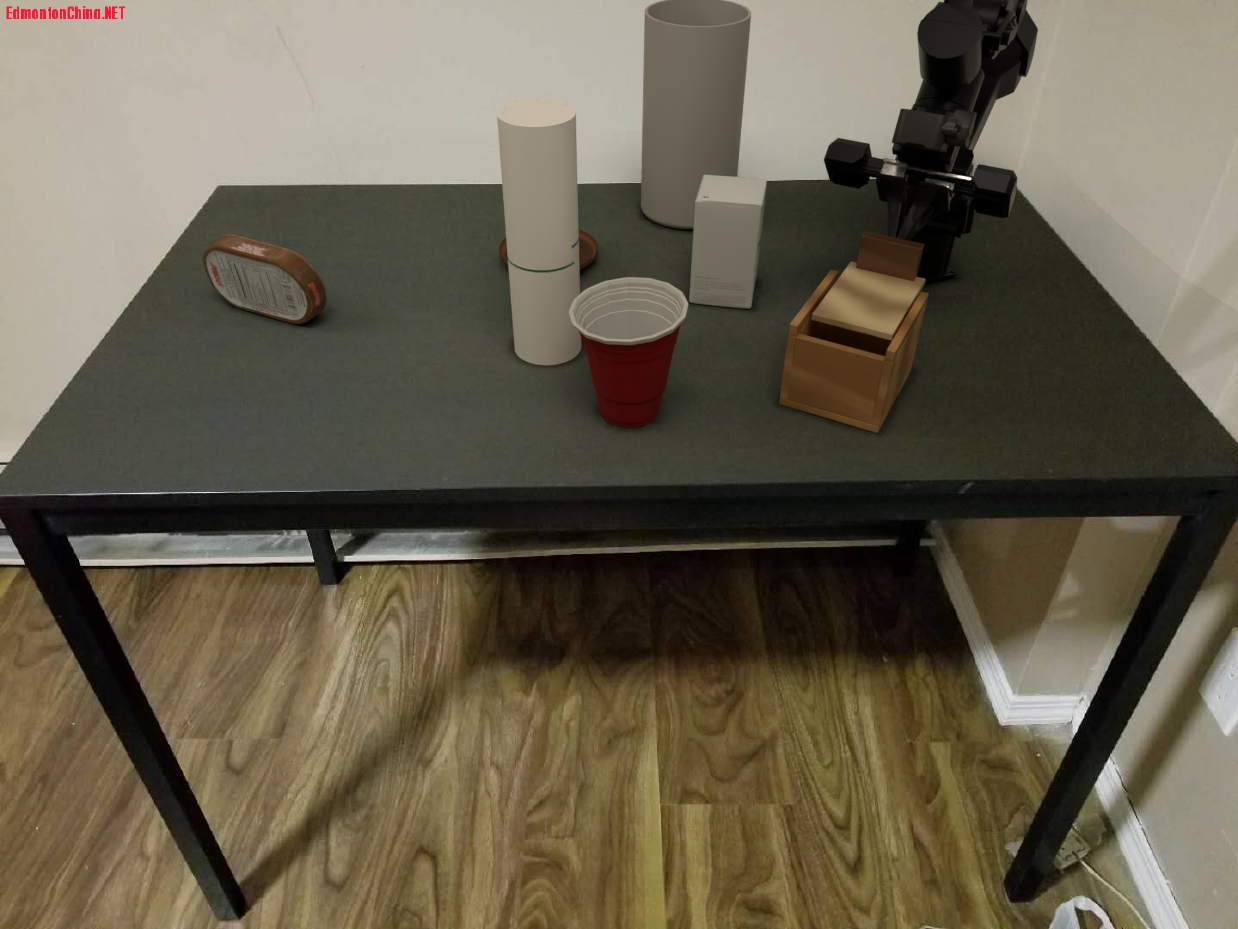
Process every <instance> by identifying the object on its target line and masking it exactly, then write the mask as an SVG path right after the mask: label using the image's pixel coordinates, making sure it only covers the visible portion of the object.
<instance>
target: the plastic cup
mask: <svg viewBox="0 0 1238 929" xmlns="http://www.w3.org/2000/svg"><path fill="white" fill-rule="evenodd" d="M688 307H689V301H687V298H686V296H685V295H684V292H683V291H681V289H679V288H677V287H675V286H674V285H672V284H671V283H670V282H667V281H662V280H658V279H656V278H651V277H636V276H634V277H633V276H625V277H620V278H615V279H609V280H604V281H601V282H599V283H597V284H595V285H592V286H590V287H588V288H585V289H584V290H582V292H580V295H578V296H577V297H576V298H575V299H574V300H573V302H572V305H571V307H570V310H569V315H570V318H571V321H572V324H573V326H574V328H575V329H576V330H578V331H579V333H580V335H581V341H582V342H583V346H584V350H585V354H586V358H587V362H588V368H589V372H590V376H591V381H592V384H593V387H594V391H595V396H596V400H597V405H598V408H599V411H600V413H601V416H602V418H603V419H604V420H605V421H607V423H609V424H612V425H614V426H616V427H618V428H619V427H620V428H627V429H632V428H633V429H634V428H639V427H640V428H641V427H643V426H644V427H645V426H646V425H648V424H650V423H651V424H652V422H653V421H654V420H655V419H656V418H657V417H658V414H659V412H660V409H661V405H662V401H663V396H664V392H665V390H666V386H667V383H668V379H669V378H668V377H669V373H670V370H671V364H672V360H673V356H674V355H673V354H674V351H675V346H676V344H677V340H678V336H679V333H680V329H681V325H682V324H683V323H684V322H685V319H686V316H687V313H688V312H687V311H688Z"/></svg>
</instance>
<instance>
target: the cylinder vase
mask: <svg viewBox="0 0 1238 929" xmlns="http://www.w3.org/2000/svg"><path fill="white" fill-rule="evenodd" d="M643 19H644V20H643V21H644V22H643V28H644V29H643V73H642V74H643V76H642V119H641V120H642V127H641V128H642V130H641V173H640V174H641V175H640V176H641V177H640V208H641V211H642V213H643V214H644V215H645V216H646V217H647V219H649V220H651V221H652V222H654V223H656V224H658V225H661V226H663V227H667V228H672V229H676V230H678V229H679V230H694V214H695V200H696V198H697V194H698V191H699V187H700V185H701V181H702V178H703V175H717V176H732V177H738V175H739V174H738V172H739V162H740V159H739V158H740V152H741V140H742V139H741V138H742V126H743V114H744V103H745V91H746V80H747V79H746V78H747V68H748V57H749V56H748V54H749V44H750V33H751V22H752V21H751V20H752V11H751V10H750V9H749V8H748V7H747V6H745V5H743V4H741V3H738V2H734V1H730V0H659V1H655V2H653V3H651V4H649V5H648V6H646V7H645V8H644V18H643Z"/></svg>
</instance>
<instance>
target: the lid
mask: <svg viewBox="0 0 1238 929" xmlns="http://www.w3.org/2000/svg"><path fill="white" fill-rule="evenodd" d="M923 247H924V244H921V243H917V242H912V241H908V240H903V239H898V238H894V237H889V236H888V235H885V234H880V233H876V232H871V231H866V230H865V231H864V232H863V233H862V235H861V237H860V243H859V249H858V255H857V259H856V262H855V261H850V262H849V263H848V265H847V266H846V268H844V270H843V271H842V273H841V274H840V275H839V277H837V281H836V282H835V284H834V285H833V287H832V288H831V289H830V291H829V292H828V293H827V295H826V296H825V297H824V299H823V300H822V301H821V303H820V304H819V305H818V307H817V308H816V310H815V311H814V312H813V314H812V320H814V321H818V322H822V323H826V324H829V325H833V326H837V327H841V328H845V329H849V330H853V331H856V332H860V333H864V334H868V335H872V336H876V337H880V338H883V339H887V340H892V339H893V337H894V335H895V334H896V332H897V330H898V329H899V327H900V325H901V324H902V322H903V320H904V318H905V317H906V315H907V313H908V312H909V310H910V308H911V307H912V305H913V303H914V302H915V301H916V299H917V298H918V296H919V294H920V293H921V292H922V290H923V288H924V287H925V285H926V284H925V280H926V279H924V278H920V277H917V274H918V270H919V265H920V261H921V256H922V252H923Z"/></svg>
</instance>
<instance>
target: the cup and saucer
mask: <svg viewBox="0 0 1238 929" xmlns="http://www.w3.org/2000/svg"><path fill="white" fill-rule="evenodd" d="M578 238H579V270H582V269H584V268H585V267H587V266H589V265H590V264H591V263H592V262H593V261H594V260H595V259H596V258H597V255H598V252H599V243H598V241H597V239H595V237H593V235H591V233H589V232H587V231H585V230H582V229H579V237H578ZM498 252H499V255H500V258H501V259H502V261H503V262H504V263H505V264H506V265H508V255H507V242H506V237H505V238H504V239H503V240H502V241H501V242H500V244H499V247H498Z"/></svg>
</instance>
